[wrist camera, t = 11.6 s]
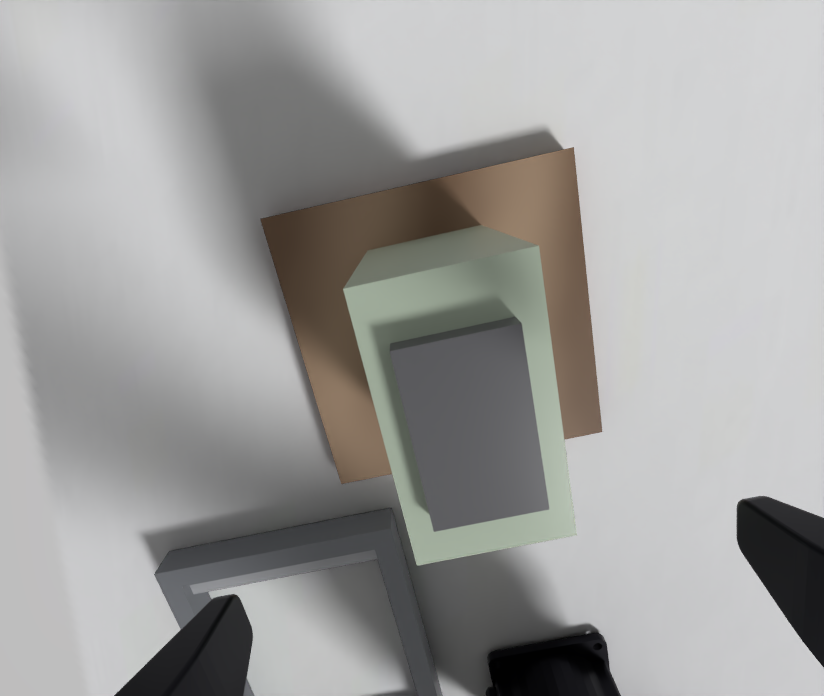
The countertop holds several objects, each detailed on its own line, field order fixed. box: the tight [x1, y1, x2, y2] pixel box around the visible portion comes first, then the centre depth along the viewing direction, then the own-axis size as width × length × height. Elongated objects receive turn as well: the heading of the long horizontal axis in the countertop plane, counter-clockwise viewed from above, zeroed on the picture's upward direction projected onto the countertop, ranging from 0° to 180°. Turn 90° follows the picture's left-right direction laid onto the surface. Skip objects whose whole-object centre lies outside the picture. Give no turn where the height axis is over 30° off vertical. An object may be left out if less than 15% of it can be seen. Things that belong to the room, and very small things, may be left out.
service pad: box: [261, 147, 602, 484], centre depth 20 cm, size 12×12×1 cm
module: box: [343, 225, 577, 566], centre depth 15 cm, size 4×8×9 cm, turn 12°
